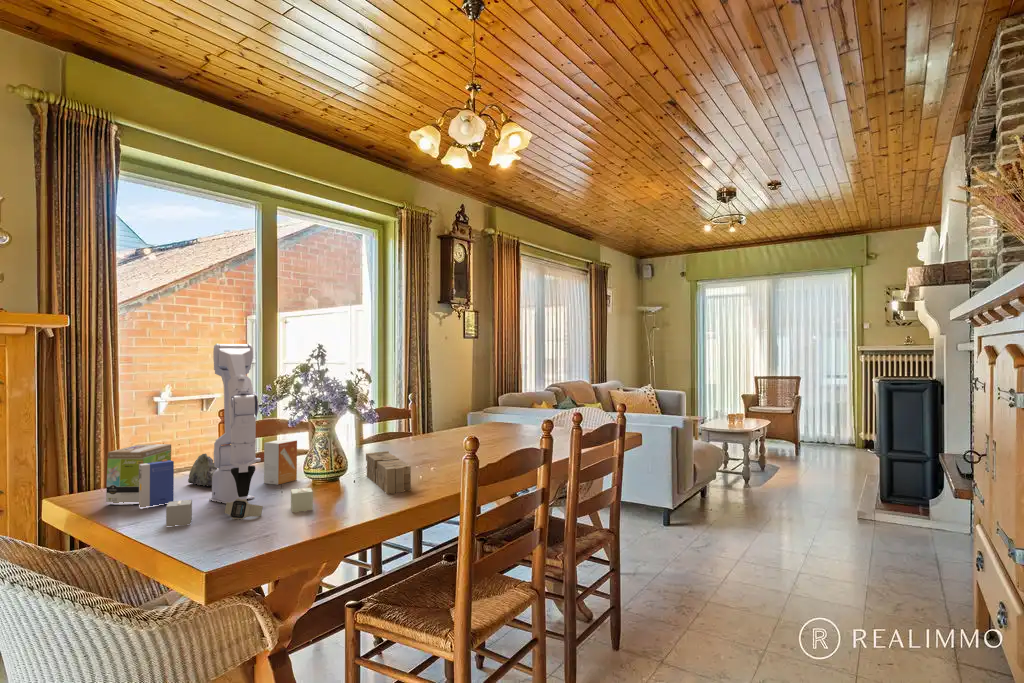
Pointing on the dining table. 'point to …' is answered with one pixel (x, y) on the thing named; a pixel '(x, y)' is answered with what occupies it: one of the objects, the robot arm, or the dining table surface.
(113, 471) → the tea box
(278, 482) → the small box
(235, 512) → the wristwatch
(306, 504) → the block marked 7
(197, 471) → the mineral rock
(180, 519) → the block marked 1
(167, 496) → the blue carton
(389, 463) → the block tower
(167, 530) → the dining table surface
